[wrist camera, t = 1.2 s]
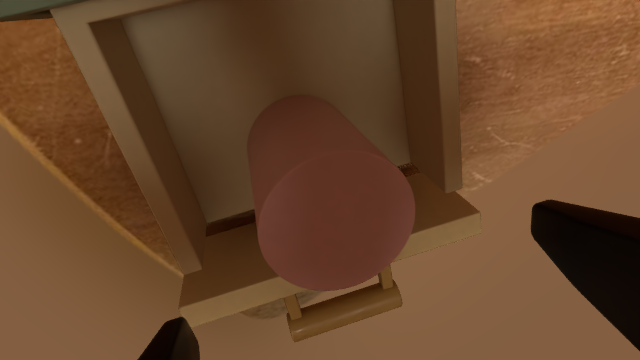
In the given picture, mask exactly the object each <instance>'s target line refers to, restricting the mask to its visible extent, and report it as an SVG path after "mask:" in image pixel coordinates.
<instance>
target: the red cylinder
mask: <svg viewBox="0 0 640 360" xmlns="http://www.w3.org/2000/svg"><path fill="white" fill-rule="evenodd" d="M247 151H248V160H249V168H250V176H251V185H252V193H253V201H254V210H255V218H256V226H257V235H258V242H259V246H260V250H261V252H262V254H263V257H264V259H265V260H266V262H267V263H268V265H269V266H270V267H271V268H272V270H273V271H274V272H275V273H276V274H278V275H279V276H280V277H281V278H283V279H284V280H286V281H288V282H289V283H291V284H294V285H296V286H298V287H302V288H305V289H310V290H317V291H330V290H339V289H344V288H349V287H352V286H355V285H358V284H360V283H363V282H365V281H367V280H369V279H371V278H372V277H374V276H376V275H377V274H379V273H380V272H381V271H383V270H384V269H385V268H387V267H388V266H389V265H390V264H391V263H392V262H393V261H394V260H395V259H396V257H397V256H398V255H399V254H400V252H401V251H402V250H403V248H404V247H405V245H406V243H407V241H408V239H409V237H410V234H411V232H412V229H413V225H414V221H415V200H414V195H413V192H412V189H411V186H410V184H409V182H408V180H407V178H406V177H405V176H404V174H403V173H402V172H401V171H400V170H399V169H398V168H397V167H396V166H395V165H394V164H393V163H392V162H391V161H390V160H389V159H388V158H387V157H386V156H385V155H384V154H383V153H382V152H381V151H380V150H379V149H378V148H377V147H376V146H375V145H374V144H373V143H372V142H371V141H369V140H368V139H367V138H366V137H365V136H364V135H363V134H362V133H361V132H360V131H359V130H358V129H357V128H356V127H355V126H354V125H353V124H352V123H351V122H350V121H349V120H348V119H347V118H346V117H345V116H344V115H343V114H342V113H341V112H340V111H339V110H338V109H337V108H335V107H334V106H333V105H332V104H330V103H329V102H327V101H325V100H323V99H321V98H318V97H315V96H310V95H293V96H288V97H285V98H282V99H280V100H278V101H275V102H274V103H272V104H271V105H269V106H268V107H267V108H265V109H264V110H263V111H262V112H261V113H260V115H259V116H258V117H257V118H256V120H255V121H254V123H253V125H252V127H251V130H250V133H249V136H248V142H247Z"/></svg>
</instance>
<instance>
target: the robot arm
mask: <svg viewBox="0 0 640 360" xmlns="http://www.w3.org/2000/svg"><path fill="white" fill-rule="evenodd" d="M531 234H532V236H533V238H534V239H535V241H536V242H537V243H538V244H539V245H540V247H541V248H542V249H543V250H544V251H545V253H546V254H547V255H548V256H549V257H550V259H551V260H552V261H553V262H554V263H555V265H556V266H557V267H558V268H559V269H560V271H561V272H562V273H563V274H564V275H565V276H566V278H567V279H568V280H569V281H570V282H571V283H572V284H573V286H574V287H575V288H576V289H577V290H578V291H579V292H580V293H581V294H582V295H583V296H584V297H585V298H586V299H587V300H588V301H589V302H590V303H591V304H592V305H593V306H594V307H595V308H596V309H597V310H598V311H599V312H600V313H601V314H603V316H604V317H606V319H607V320H608V321H610V323H612V324H613V325H614V326H615V327H616V328H617V329H618V330H619V331H620V332H621V333H622V334H623V335H624V336H625V337H626V338H627V339H628V340H629V341H630V342H631V343H632V344H633V345H634V346H635V347H636V348H637V349H638V350H639V351H640V218H637V217H632V216H627V215H622V214H617V213H613V212H608V211H603V210H599V209H594V208H588V207H584V206H579V205H574V204H569V203H565V202H560V201H555V200H546V201H542V202H539V203H536V204H535V205H534V206H533V208H532V218H531ZM138 360H200V352H199V345H198V341H197V339H196V337H195V335H194V333H193V331H192V329H191V327H190V325H189V324H188V322H187V320H186V319H185V318H184V317H179V318H175V319H172V320H169V321H167V322H165V323H164V325H163V326H162V327H161V329H160V330H159V331H158V333H157V334H156V335H155V337H154V338H153V339H152V341H151V342H150V343H149V345H148V346H147V348H146V349H145V350H144V352H143V353H142V354H141V356H140V357H139V359H138Z"/></svg>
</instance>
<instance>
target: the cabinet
mask: <svg viewBox="0 0 640 360" xmlns="http://www.w3.org/2000/svg"><path fill="white" fill-rule="evenodd" d="M85 1H89V0H0V22H4V21H17V20H31V19H45V18H53V16H52V14H51V12H50V9H54V8H59V7H63V6H67V5H72V4H76V3H80V2H85Z"/></svg>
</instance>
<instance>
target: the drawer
mask: <svg viewBox="0 0 640 360" xmlns="http://www.w3.org/2000/svg"><path fill="white" fill-rule="evenodd" d="M50 12H51V14H52V16H53V18H54V20H55V22H56V24H57V26H58V28H59V29H60V31H61V33H62V35H63V37H64V39H65V41H66V43H67V45H68V47H69V49H70V51H71V53H72V55H73V57H74V59H75V61H76V63H77V65H78V67H79V69H80V71H81V73H82V75H83V77H84V79H85V81H86V83H87V85H88V87H89V88H90V90H91V92H92V94H93V96H94V98H95V100H96V102H97V104H98V106H99V108H100V110H101V112H102V114H103V116H104V118H105V120H106V122H107V124H108V126H109V128H110V130H111V132H112V134H113V136H114V138H115V140H116V142H117V144H118V146H119V148H120V150H121V152H122V154H123V156H124V158H125V160H126V162H127V164H128V166H129V168H130V170H131V172H132V174H133V176H134V178H135V180H136V182H137V184H138V186H139V188H140V190H141V192H142V194H143V196H144V198H145V199H146V201H147V203H148V205H149V207H150V209H151V211H152V213H153V215H154V217H155V219H156V221H157V223H158V225H159V227H160V229H161V231H162V233H163V235H164V237H165V239H166V241H167V243H168V245H169V247H170V249H171V251H172V253H173V255H174V257H175V259H176V261H177V263H178V265H179V267H180V269H181V271H182V273H183V274H184V278H183V284H182V290H181V296H180V302H179V308H178V309H179V311H180V313H181V315H182V316H183V317H184V318H185V319H186V320H187V322H188V324H189V325H190V327H191V328H192V327H195V326H198V325H201V324H204V323H207V322H210V321H213V320H216V319H219V318H222V317H226V316H229V315H232V314H235V313H238V312H241V311H244V310H247V309H250V308H253V307H256V306H259V305H262V304H266V303H269V302H272V301H275V300H278V299H281V298H284V301H285V304H286V307H287V310H288V312H289V313H287V321H288V325H289V329H290V333H291V336H292V339H293V341H294V342H298V341H300V340H304V339H306V338H309V337H312V336H315V335H318V334H321V333H324V332H327V331H330V330H333V329H336V328H339V327H342V326H345V325H348V324H351V323H354V322H357V321H360V320H363V319H365V318H369V317H372V316H374V315H377V314H380V313H383V312H386V311H389V310H392V309H395V308H398V307H401V306H402V298H401V294H400V292H399V289H398V287H397V285H396V283H395V281H394V280H393V279H392V273H391V267H390V265H389V266H388V267H387V268H385V269H384V270H383V271H381V272H380V273H379V274H378V277H379V282H380V283H377V284H374V285H371V286H368V287H365V288H362V289H359V290H356V291H353V292H350V293H347V294H344V295H341V296H338V297H335V298H332V299H329V300H326V301H322V302H320V303H316V304H313V305H310V306H307V307H304V308H300V305H299V302H298V299H297V296H296V293H299V292H303V291H306V290H309V289H305V288H302V287H298V286H296V285H294V284H291V283H289V282H288V281H286V280H284V279H283V278H281V277H280V276H279V275H278V274H276V273H275V272H274V271H273V270H272V268H271V267H270V266H269V265H268V263H267V262H266V260H265V259H264V257H263V254H262V252H261V250H260V246H259V242H258V235H257V226H256V222H254V223H251V224H247V225H244V226H241V227H238V228H234V229H231V230H228V231H224V232H221V233H218V234H214V235H211V236H208V237H206V230H207V223H210V222H213V221H216V220H220V219H223V218H226V217H230V216H233V215H236V214H240V213H243V212H246V211H250V210H253V209H254V201H253V193H252V185H251V176H250V168H249V160H248V151H247V142H248V136H249V133H250V130H251V127H252V125H253V123H254V121H255V120H256V118H257V117H258V116H259V115H260V113H261V112H262V111H263V110H264V109H265V108H267V107H268V106H269V105H271V104H272V103H274V102H275V101H278V100H280V99H282V98H285V97H288V96H293V95H310V96H315V97H318V98H321V99H323V100H325V101H327V102H329V103H330V104H332V105H333V106H334V107H335V108H337V109H338V110H339V111H340V112H341V113H342V114H343V115H344V116H345V117H346V118H347V119H348V120H349V121H350V122H351V123H352V124H353V125H354V126H355V127H356V128H357V129H358V130H359V131H360V132H361V133H362V134H363V135H364V136H365V137H366V138H367V139H368V140H369V141H371V142H372V143H373V144H374V145H375V146H376V147H377V148H378V149H379V150H380V151H381V152H382V153H383V154H384V155H385V156H386V157H387V158H388V159H389V160H390V161H391V162H392V163H393V164H394V165H395V166H396V167H398V166H401V165H404V164H408V163H412V164H413V165H414V166H415V167H416V168H417V169H418V170H420V171H421V172H420V173H417V174H413V175H410V176H407V177H406V178H407V180H408V182H409V184H410V186H411V189H412V192H413V195H414V200H415V221H414V225H413V229H412V232H411V234H410V237H409V239H408V241H407V243H406V245H405V247H404V248H403V250H402V251H401V252H400V254H399V255H398V256H397V257H396V259H395V260H394V261H393V262H395V261H398V260H401V259H404V258H407V257H410V256H413V255H416V254H419V253H423V252H426V251H429V250H432V249H435V248H438V247H441V246H444V245H447V244H450V243H453V242H456V241H459V240H463V239H466V238H469V237H472V236H475V235H478V234H480V233H481V213H480V211H478V210H477V209H476V208H475V207H474V206H472V205H471V204H470V203H469V202H468V201H466V200H465V199H464V198H463V197H462V196H460V195H459V194H458V193H457V192H456V191H457V190H460V189H462V164H461V137H460V109H459V82H458V54H457V27H456V0H89V1H85V2H80V3H76V4H72V5H67V6H63V7H59V8H54V9H50Z"/></svg>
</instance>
